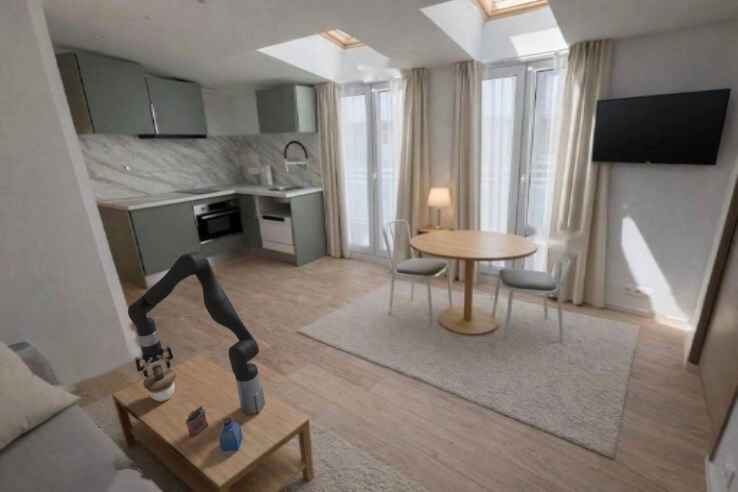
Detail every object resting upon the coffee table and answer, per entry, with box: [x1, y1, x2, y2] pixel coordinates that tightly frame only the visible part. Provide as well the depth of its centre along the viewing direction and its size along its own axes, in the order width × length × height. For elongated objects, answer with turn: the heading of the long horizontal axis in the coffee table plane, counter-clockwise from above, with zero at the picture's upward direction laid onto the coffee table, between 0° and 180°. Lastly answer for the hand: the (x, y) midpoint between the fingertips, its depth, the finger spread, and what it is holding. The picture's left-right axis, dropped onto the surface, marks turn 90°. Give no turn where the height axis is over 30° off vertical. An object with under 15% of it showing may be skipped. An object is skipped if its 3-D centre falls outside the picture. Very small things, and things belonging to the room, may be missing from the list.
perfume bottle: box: [218, 416, 243, 453], centre depth 139 cm, size 6×6×12 cm
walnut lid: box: [142, 364, 177, 390], centre depth 164 cm, size 13×13×7 cm
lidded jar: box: [147, 379, 176, 402], centre depth 166 cm, size 11×11×9 cm
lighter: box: [185, 405, 209, 439], centre depth 146 cm, size 8×3×10 cm, turn 148°
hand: (157, 372), depth 164 cm, fingers open, 8 cm apart
